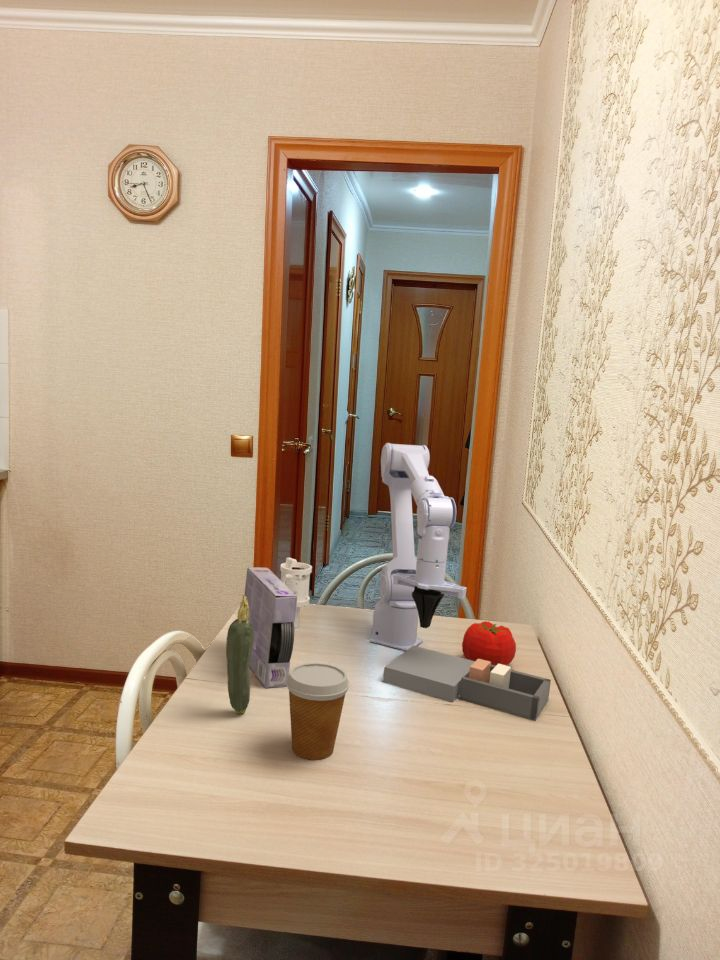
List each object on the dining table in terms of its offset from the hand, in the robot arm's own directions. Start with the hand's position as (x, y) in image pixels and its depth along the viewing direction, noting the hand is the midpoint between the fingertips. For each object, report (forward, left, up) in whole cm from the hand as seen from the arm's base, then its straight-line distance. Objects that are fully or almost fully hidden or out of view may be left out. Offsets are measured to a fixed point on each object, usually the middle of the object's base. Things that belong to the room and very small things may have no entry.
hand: (425, 626), depth 140 cm
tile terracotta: (+11, -2, -6) cm, 13 cm away
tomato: (+10, +12, -10) cm, 18 cm away
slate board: (+3, -2, -9) cm, 10 cm away
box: (+18, -2, -9) cm, 20 cm away
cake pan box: (-25, -18, -10) cm, 32 cm away
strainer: (-34, +6, -10) cm, 36 cm away
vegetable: (-18, -36, -10) cm, 41 cm away
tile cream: (+15, -2, -6) cm, 16 cm away
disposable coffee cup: (-2, -38, -10) cm, 39 cm away
